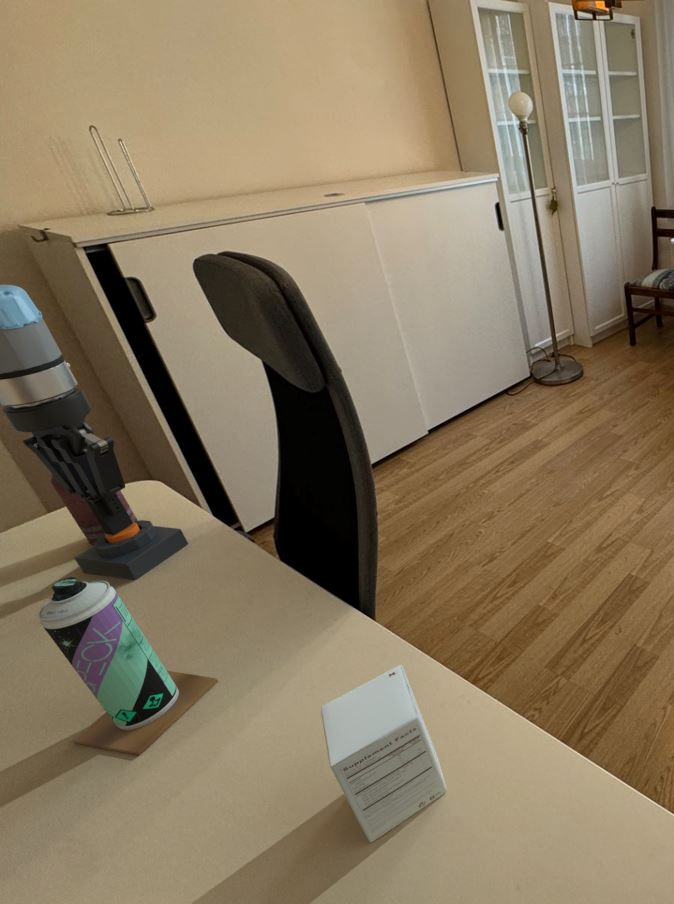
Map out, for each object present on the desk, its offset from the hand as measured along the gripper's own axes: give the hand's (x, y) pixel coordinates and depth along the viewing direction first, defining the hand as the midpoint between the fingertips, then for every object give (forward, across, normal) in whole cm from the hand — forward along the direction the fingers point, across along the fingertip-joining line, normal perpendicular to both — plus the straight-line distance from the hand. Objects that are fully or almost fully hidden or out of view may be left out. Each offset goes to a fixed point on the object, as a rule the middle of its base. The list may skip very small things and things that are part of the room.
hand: (119, 528), depth 87 cm
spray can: (+6, -30, +21) cm, 37 cm away
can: (+6, +10, -4) cm, 12 cm away
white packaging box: (+6, -66, +24) cm, 71 cm away
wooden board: (+6, -30, +21) cm, 37 cm away
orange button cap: (+2, 0, 0) cm, 2 cm away
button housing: (+6, 0, 0) cm, 6 cm away
